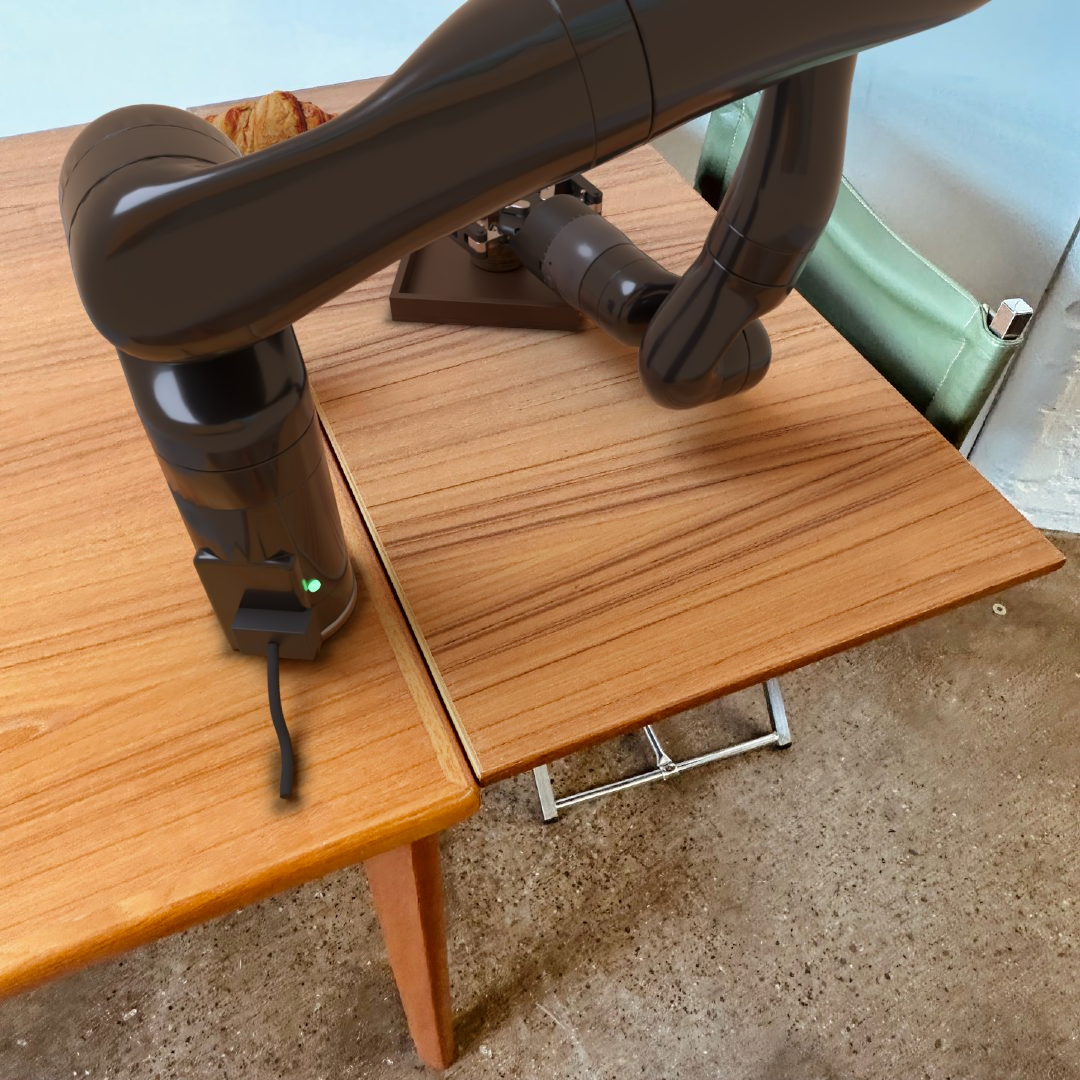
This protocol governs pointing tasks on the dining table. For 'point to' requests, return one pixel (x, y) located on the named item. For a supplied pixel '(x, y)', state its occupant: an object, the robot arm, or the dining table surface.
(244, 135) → the croissant
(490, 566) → the dining table surface
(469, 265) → the tray
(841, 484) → the dining table surface
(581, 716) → the dining table surface
